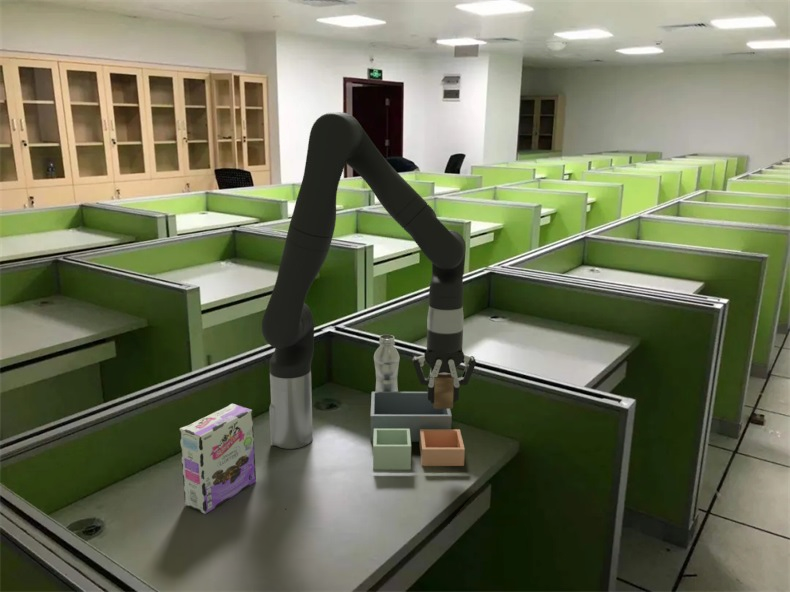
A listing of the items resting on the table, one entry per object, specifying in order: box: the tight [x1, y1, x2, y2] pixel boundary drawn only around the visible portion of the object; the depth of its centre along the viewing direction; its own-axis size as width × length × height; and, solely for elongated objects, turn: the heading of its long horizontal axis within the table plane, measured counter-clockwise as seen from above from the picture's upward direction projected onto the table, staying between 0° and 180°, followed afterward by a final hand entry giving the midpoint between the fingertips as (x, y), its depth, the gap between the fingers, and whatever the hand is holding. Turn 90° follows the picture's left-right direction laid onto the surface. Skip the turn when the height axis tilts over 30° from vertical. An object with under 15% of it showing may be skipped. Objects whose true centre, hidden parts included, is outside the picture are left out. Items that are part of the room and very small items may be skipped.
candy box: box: [179, 403, 257, 515], centre depth 122 cm, size 14×6×16 cm, turn 148°
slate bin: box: [370, 391, 453, 443], centre depth 150 cm, size 19×14×7 cm
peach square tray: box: [419, 428, 466, 467], centre depth 138 cm, size 9×9×4 cm
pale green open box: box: [372, 429, 412, 470], centre depth 136 cm, size 8×8×6 cm
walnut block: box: [433, 372, 454, 410], centre depth 135 cm, size 4×4×7 cm
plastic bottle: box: [373, 334, 401, 392], centre depth 159 cm, size 6×7×20 cm
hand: (442, 401), depth 135 cm, fingers closed on walnut block, 4 cm apart
